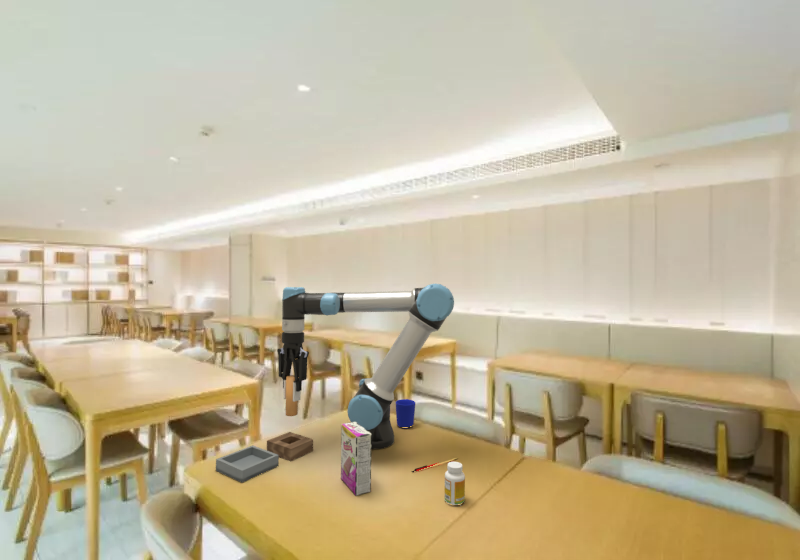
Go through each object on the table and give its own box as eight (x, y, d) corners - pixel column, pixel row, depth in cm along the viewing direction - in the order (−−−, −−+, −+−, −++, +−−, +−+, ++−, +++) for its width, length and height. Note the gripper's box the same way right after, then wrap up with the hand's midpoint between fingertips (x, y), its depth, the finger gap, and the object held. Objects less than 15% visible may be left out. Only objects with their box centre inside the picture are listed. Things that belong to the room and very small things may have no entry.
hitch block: (313, 450, 134) (313, 439, 134) (290, 461, 126) (290, 448, 126) (289, 442, 141) (289, 431, 141) (266, 452, 132) (266, 440, 132)
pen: (410, 472, 120) (410, 469, 120) (457, 459, 131) (457, 455, 131) (412, 474, 119) (412, 470, 119) (459, 460, 130) (459, 456, 130)
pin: (300, 413, 134) (300, 376, 134) (291, 417, 131) (291, 378, 131) (292, 411, 136) (292, 374, 137) (283, 414, 133) (283, 376, 133)
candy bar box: (339, 479, 115) (340, 423, 115) (354, 475, 117) (356, 420, 118) (355, 497, 105) (356, 436, 105) (371, 492, 108) (372, 432, 108)
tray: (278, 466, 122) (278, 454, 122) (241, 482, 111) (242, 470, 111) (252, 455, 129) (252, 445, 129) (215, 470, 118) (216, 459, 119)
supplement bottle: (466, 498, 106) (466, 462, 106) (462, 508, 100) (463, 470, 101) (446, 494, 107) (447, 458, 108) (442, 504, 102) (442, 467, 102)
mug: (416, 420, 168) (416, 397, 168) (414, 430, 156) (414, 405, 156) (397, 419, 168) (397, 396, 169) (394, 429, 156) (394, 404, 157)
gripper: (268, 330, 136) (266, 397, 135) (302, 334, 126) (300, 406, 126) (285, 329, 142) (283, 393, 141) (318, 332, 133) (317, 401, 132)
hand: (291, 399), depth 134 cm, fingers closed on pin, 4 cm apart
